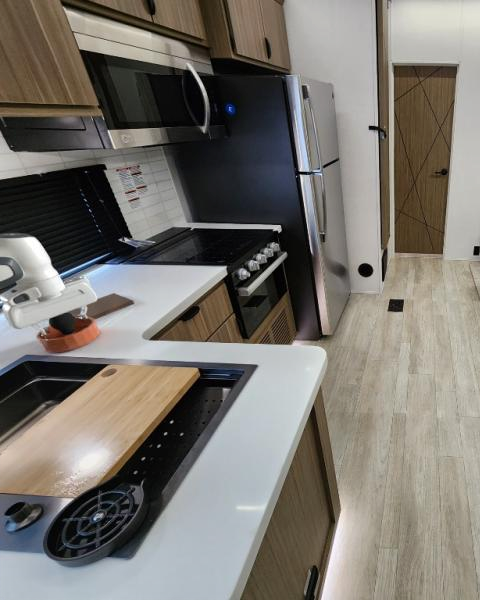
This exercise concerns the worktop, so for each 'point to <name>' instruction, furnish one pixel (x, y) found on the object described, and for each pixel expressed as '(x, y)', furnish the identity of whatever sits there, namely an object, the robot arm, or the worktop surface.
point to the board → (104, 306)
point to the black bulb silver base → (63, 323)
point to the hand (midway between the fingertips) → (66, 326)
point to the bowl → (60, 342)
